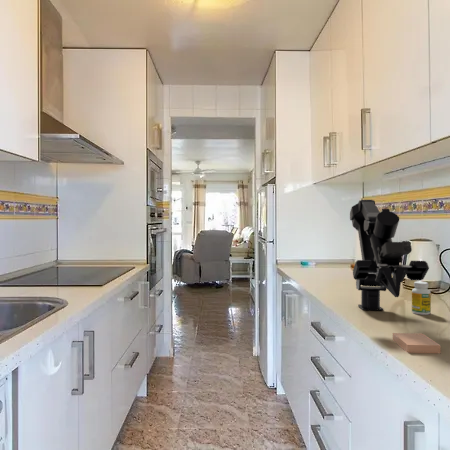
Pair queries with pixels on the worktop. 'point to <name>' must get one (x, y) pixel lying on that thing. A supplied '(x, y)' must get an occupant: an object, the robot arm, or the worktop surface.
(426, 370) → the worktop surface
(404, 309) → the worktop surface
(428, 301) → the supplement bottle
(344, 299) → the worktop surface
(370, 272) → the robot arm
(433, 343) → the block
